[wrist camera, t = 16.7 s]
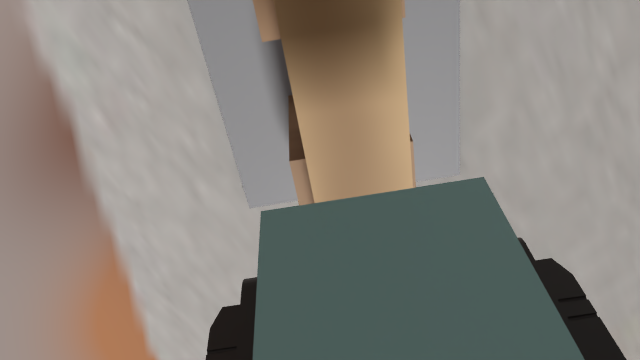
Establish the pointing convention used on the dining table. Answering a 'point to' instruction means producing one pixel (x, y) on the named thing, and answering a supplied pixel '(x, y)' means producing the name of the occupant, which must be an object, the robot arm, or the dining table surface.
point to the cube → (402, 281)
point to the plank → (349, 93)
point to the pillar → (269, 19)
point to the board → (274, 88)
